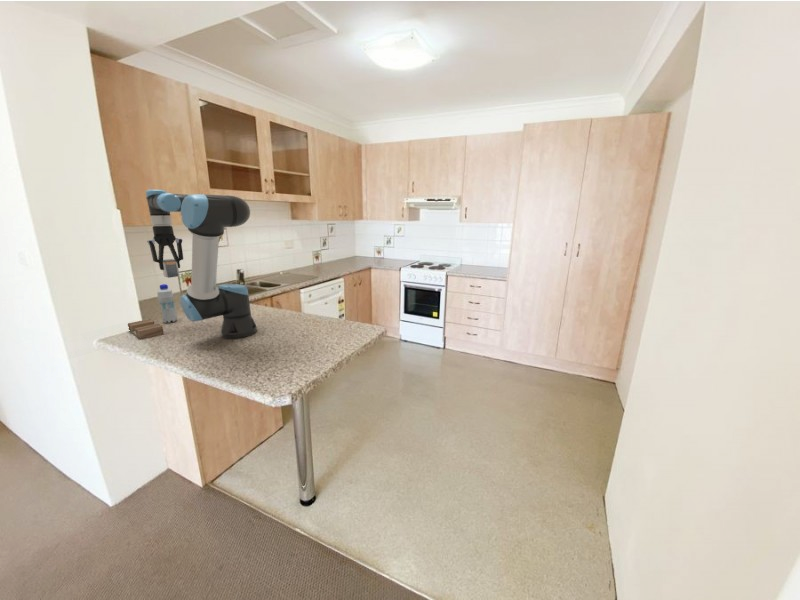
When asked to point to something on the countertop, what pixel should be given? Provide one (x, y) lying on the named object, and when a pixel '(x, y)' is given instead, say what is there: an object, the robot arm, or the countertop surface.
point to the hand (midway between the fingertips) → (171, 275)
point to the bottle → (167, 304)
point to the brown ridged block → (145, 329)
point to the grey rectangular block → (171, 267)
